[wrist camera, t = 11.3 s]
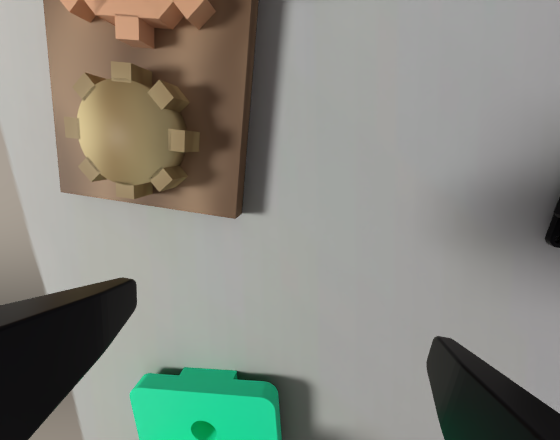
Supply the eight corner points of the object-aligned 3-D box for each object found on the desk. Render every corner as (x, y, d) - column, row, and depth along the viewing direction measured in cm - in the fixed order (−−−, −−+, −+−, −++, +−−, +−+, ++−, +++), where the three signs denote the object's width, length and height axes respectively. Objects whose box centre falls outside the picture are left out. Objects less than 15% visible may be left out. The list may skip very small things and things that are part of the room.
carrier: (272, -176, 15) (239, -372, 9) (241, 213, 21) (208, 239, 15) (50, -172, 17) (-95, -339, 11) (77, 189, 22) (-9, 204, 16)
